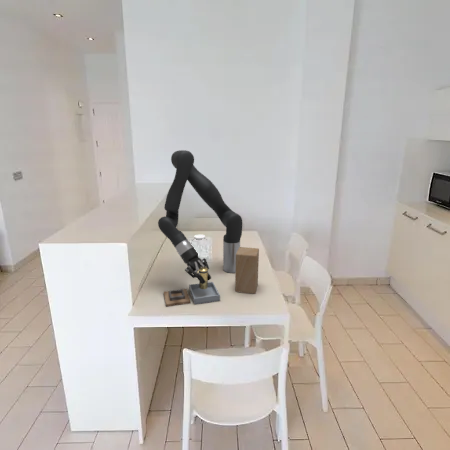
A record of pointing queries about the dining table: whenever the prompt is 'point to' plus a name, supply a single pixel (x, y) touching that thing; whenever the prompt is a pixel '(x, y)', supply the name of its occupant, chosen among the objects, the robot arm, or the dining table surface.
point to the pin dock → (176, 297)
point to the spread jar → (199, 237)
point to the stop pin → (204, 274)
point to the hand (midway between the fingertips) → (206, 281)
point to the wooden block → (246, 270)
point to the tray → (204, 293)
